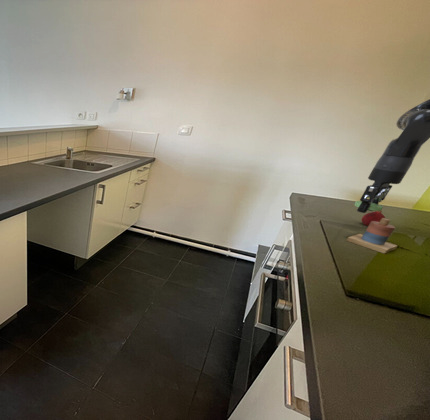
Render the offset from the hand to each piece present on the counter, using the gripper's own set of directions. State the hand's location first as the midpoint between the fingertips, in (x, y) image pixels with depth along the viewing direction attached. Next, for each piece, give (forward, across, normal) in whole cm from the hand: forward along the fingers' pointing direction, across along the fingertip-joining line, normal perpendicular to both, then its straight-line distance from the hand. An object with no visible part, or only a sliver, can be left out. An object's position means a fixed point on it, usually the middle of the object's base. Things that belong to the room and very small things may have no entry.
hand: (365, 211), depth 94 cm
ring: (-1, 0, 0) cm, 1 cm away
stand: (+8, -13, -8) cm, 17 cm away
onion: (+8, +9, -1) cm, 12 cm away
